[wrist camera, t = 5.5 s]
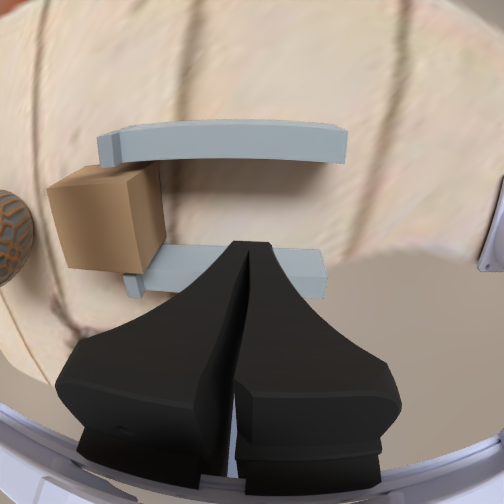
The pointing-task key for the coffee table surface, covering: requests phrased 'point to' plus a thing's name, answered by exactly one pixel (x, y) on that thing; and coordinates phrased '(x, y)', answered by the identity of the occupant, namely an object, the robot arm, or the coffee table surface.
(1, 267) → the vase
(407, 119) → the coffee table surface
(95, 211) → the walnut block
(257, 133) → the pair of lipped bars
